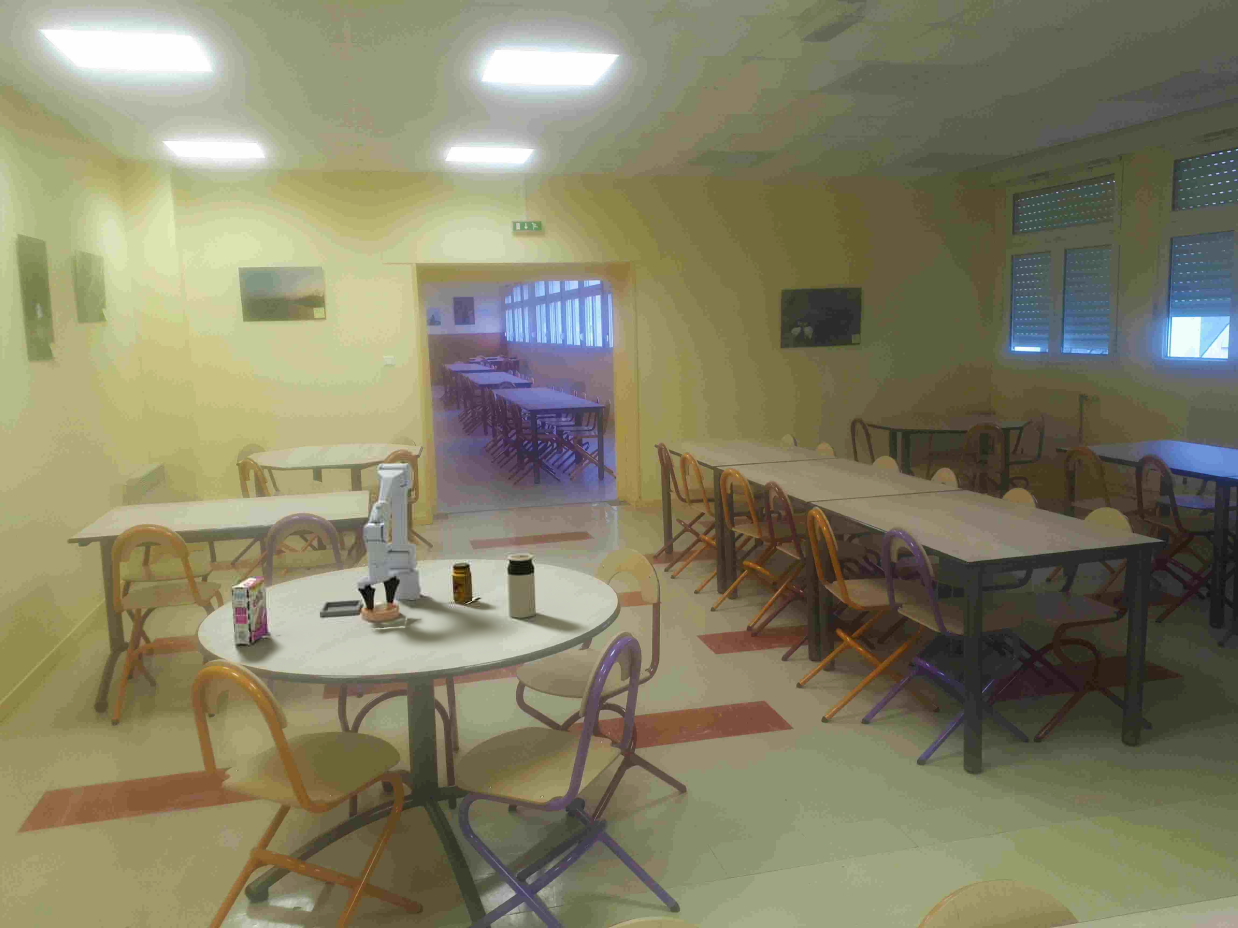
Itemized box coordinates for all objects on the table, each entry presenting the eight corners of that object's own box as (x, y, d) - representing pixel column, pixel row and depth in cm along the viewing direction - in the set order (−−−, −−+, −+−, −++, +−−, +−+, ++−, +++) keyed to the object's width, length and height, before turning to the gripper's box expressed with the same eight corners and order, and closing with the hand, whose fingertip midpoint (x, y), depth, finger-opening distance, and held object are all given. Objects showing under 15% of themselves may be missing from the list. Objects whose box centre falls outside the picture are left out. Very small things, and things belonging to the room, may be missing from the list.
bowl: (400, 610, 274) (400, 601, 274) (398, 621, 263) (397, 611, 263) (364, 613, 272) (363, 603, 272) (360, 623, 262) (359, 614, 261)
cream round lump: (387, 612, 270) (387, 600, 270) (387, 615, 266) (386, 604, 266) (374, 613, 269) (373, 601, 269) (373, 617, 265) (372, 605, 265)
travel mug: (531, 619, 263) (529, 559, 261) (505, 618, 265) (503, 559, 262) (538, 611, 271) (537, 553, 268) (513, 610, 272) (511, 552, 270)
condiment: (447, 603, 282) (446, 566, 280) (462, 595, 290) (460, 560, 288) (467, 605, 279) (466, 567, 277) (481, 597, 287) (480, 561, 285)
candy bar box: (252, 645, 244) (248, 587, 242) (234, 645, 244) (229, 587, 242) (269, 632, 255) (265, 577, 253) (252, 632, 255) (248, 577, 253)
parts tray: (362, 605, 280) (361, 599, 280) (358, 615, 270) (357, 609, 269) (325, 608, 278) (325, 602, 278) (320, 618, 268) (319, 612, 267)
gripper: (387, 555, 274) (389, 598, 276) (349, 565, 262) (352, 610, 264) (403, 558, 270) (405, 601, 272) (365, 568, 258) (368, 613, 260)
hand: (380, 606), depth 267 cm, fingers open, 7 cm apart
